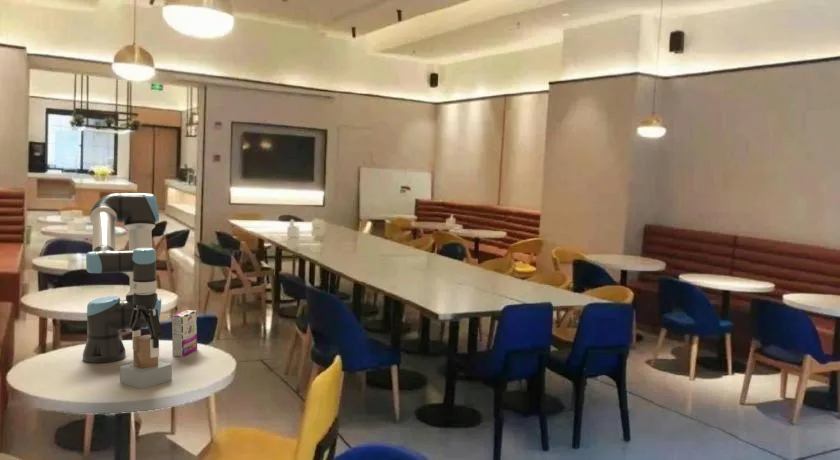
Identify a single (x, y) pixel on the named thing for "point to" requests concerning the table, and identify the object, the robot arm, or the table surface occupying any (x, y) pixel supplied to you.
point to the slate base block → (145, 375)
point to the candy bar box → (184, 333)
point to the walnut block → (143, 352)
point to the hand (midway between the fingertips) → (145, 352)
